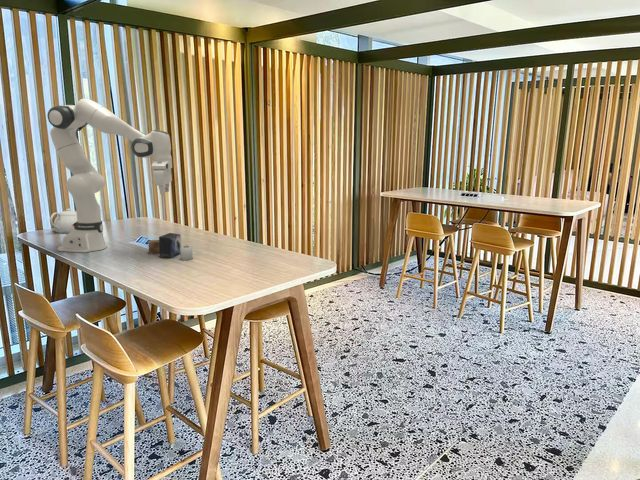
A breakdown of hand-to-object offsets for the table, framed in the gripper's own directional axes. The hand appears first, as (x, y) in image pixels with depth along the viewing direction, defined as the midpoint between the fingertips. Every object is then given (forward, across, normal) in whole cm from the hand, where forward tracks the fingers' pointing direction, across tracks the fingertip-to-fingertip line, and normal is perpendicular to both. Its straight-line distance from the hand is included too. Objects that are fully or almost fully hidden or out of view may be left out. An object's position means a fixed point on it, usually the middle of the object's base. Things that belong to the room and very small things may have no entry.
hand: (164, 193), depth 225 cm
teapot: (+29, -54, -70) cm, 93 cm away
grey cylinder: (+31, +9, +10) cm, 34 cm away
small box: (+31, +3, +1) cm, 31 cm away
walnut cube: (+31, -3, -8) cm, 32 cm away
